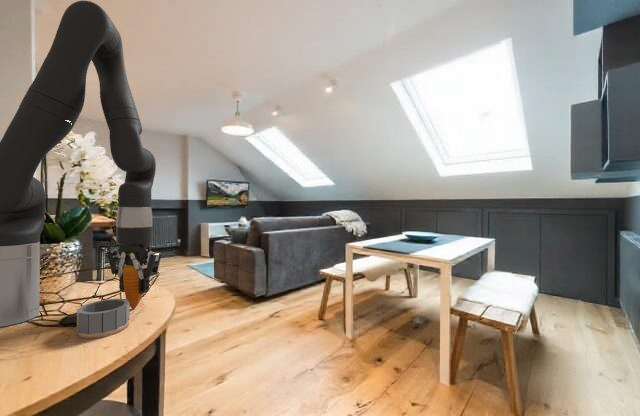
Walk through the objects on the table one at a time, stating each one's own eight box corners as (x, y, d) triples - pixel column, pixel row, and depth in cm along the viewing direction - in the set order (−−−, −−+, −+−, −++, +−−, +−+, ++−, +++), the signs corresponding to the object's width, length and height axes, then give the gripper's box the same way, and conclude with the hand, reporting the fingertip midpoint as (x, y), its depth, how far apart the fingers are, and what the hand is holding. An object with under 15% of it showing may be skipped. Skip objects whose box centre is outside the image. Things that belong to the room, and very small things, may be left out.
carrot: (126, 306, 72) (126, 248, 72) (147, 304, 74) (148, 248, 74) (118, 313, 68) (119, 252, 67) (142, 311, 69) (142, 251, 69)
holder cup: (68, 341, 54) (68, 315, 54) (89, 323, 62) (89, 300, 62) (120, 335, 57) (120, 311, 57) (133, 318, 65) (134, 297, 65)
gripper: (170, 225, 73) (169, 290, 73) (124, 223, 75) (123, 285, 76) (147, 227, 65) (146, 299, 65) (96, 225, 68) (96, 294, 68)
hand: (134, 291), depth 71 cm, fingers open, 5 cm apart
